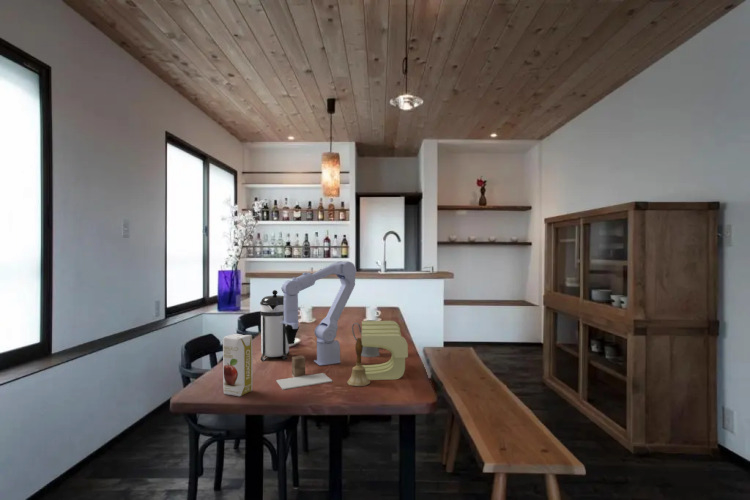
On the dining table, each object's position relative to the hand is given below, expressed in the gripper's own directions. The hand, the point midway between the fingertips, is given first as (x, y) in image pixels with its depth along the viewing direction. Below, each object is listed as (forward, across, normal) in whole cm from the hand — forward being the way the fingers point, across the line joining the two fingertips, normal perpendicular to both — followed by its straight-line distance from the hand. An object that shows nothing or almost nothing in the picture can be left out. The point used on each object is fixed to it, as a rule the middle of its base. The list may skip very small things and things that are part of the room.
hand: (291, 343), depth 160 cm
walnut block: (+10, +11, 0) cm, 15 cm away
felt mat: (+10, +18, 0) cm, 21 cm away
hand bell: (+10, +29, +17) cm, 35 cm away
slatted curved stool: (+10, +24, +29) cm, 39 cm away
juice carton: (+10, +19, -23) cm, 31 cm away
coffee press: (+10, -21, -2) cm, 23 cm away
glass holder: (+10, -6, +36) cm, 38 cm away
